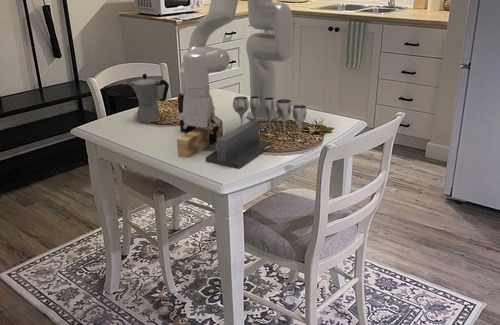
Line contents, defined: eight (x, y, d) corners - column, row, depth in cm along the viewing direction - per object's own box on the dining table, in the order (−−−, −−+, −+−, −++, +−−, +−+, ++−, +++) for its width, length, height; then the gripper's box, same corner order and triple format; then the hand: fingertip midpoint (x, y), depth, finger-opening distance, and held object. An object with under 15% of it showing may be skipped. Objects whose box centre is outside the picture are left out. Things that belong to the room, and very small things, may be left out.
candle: (193, 132, 180) (187, 63, 170) (179, 131, 181) (173, 62, 171) (197, 127, 185) (192, 59, 175) (184, 127, 186) (178, 59, 176)
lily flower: (294, 133, 177) (294, 121, 175) (310, 123, 186) (310, 112, 184) (325, 139, 171) (325, 127, 169) (340, 129, 180) (341, 117, 178)
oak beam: (213, 136, 176) (212, 120, 174) (223, 138, 174) (222, 121, 172) (178, 156, 161) (176, 138, 158) (188, 158, 159) (186, 140, 156)
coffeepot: (129, 124, 191) (123, 77, 184) (136, 116, 200) (130, 71, 193) (169, 123, 190) (165, 76, 183) (174, 115, 199) (170, 70, 192)
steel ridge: (240, 140, 171) (239, 118, 168) (271, 146, 165) (271, 123, 162) (206, 161, 155) (204, 137, 152) (238, 168, 149) (237, 143, 146)
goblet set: (309, 139, 171) (309, 101, 165) (301, 144, 166) (302, 106, 161) (239, 127, 184) (237, 91, 179) (230, 131, 180) (229, 95, 174)
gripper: (169, 91, 161) (173, 141, 168) (213, 97, 153) (216, 149, 160) (183, 85, 167) (187, 134, 174) (226, 91, 159) (229, 142, 166)
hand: (201, 141), depth 167 cm, fingers open, 9 cm apart
